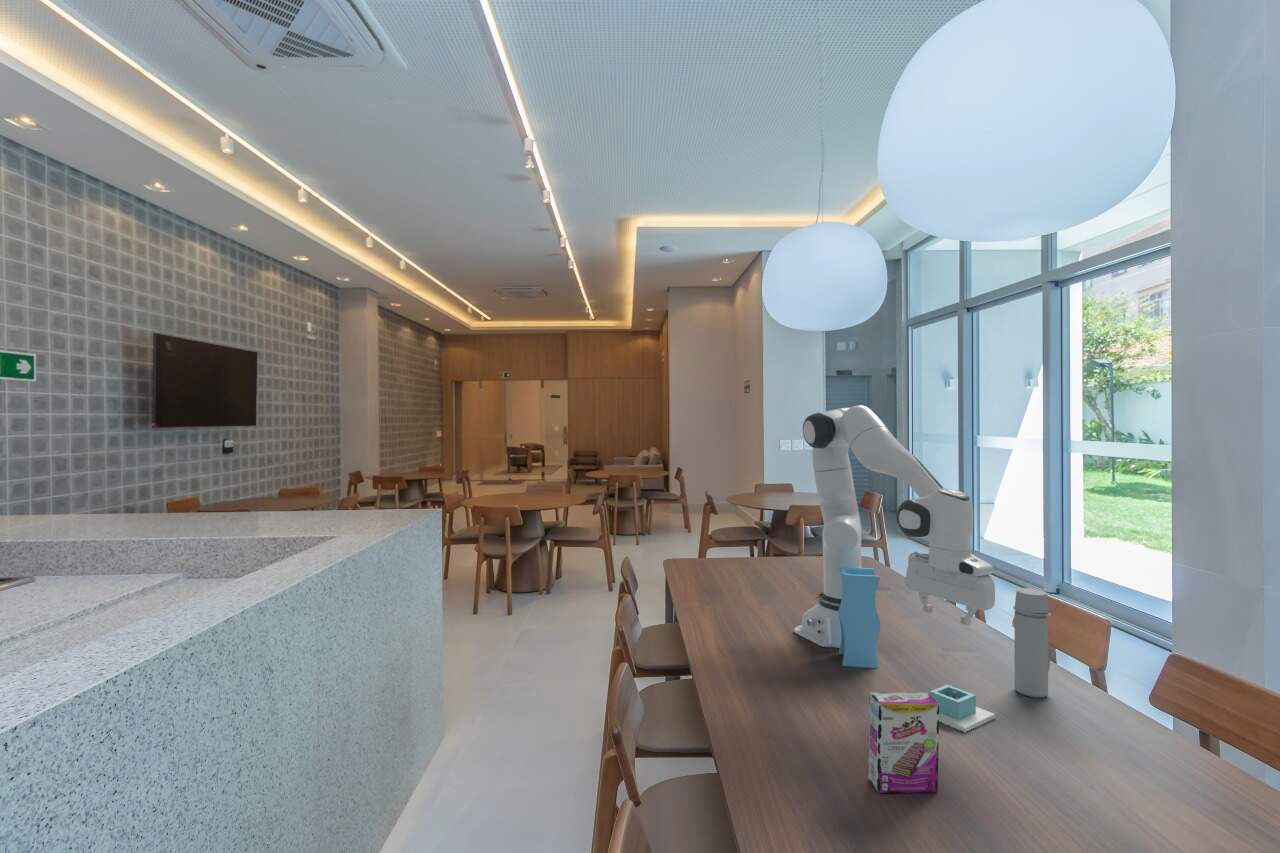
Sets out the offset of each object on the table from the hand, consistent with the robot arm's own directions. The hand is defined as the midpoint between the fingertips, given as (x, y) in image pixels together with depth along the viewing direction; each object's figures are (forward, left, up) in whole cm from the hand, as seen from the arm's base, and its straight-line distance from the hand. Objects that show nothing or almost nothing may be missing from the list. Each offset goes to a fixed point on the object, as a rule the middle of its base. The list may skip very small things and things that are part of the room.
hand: (945, 618), depth 145 cm
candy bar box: (+14, -37, -21) cm, 45 cm away
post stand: (+3, -2, -21) cm, 21 cm away
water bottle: (+7, +26, -21) cm, 34 cm away
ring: (+3, -2, -20) cm, 20 cm away
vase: (-30, +7, -21) cm, 37 cm away
